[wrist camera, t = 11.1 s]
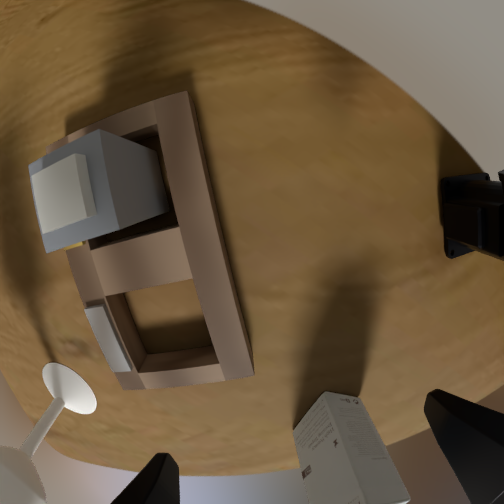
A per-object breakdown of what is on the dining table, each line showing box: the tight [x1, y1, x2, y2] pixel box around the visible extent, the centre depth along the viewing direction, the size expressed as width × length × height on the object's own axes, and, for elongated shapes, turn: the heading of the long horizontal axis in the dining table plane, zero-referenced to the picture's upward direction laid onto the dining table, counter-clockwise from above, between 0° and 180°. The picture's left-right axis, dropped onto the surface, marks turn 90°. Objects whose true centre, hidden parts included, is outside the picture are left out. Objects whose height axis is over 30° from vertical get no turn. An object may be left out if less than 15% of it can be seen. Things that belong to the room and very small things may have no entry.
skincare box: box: [293, 391, 410, 504], centre depth 16 cm, size 6×4×12 cm
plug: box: [28, 129, 170, 253], centre depth 13 cm, size 4×4×9 cm
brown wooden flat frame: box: [46, 90, 255, 390], centre depth 16 cm, size 10×18×3 cm, turn 12°
